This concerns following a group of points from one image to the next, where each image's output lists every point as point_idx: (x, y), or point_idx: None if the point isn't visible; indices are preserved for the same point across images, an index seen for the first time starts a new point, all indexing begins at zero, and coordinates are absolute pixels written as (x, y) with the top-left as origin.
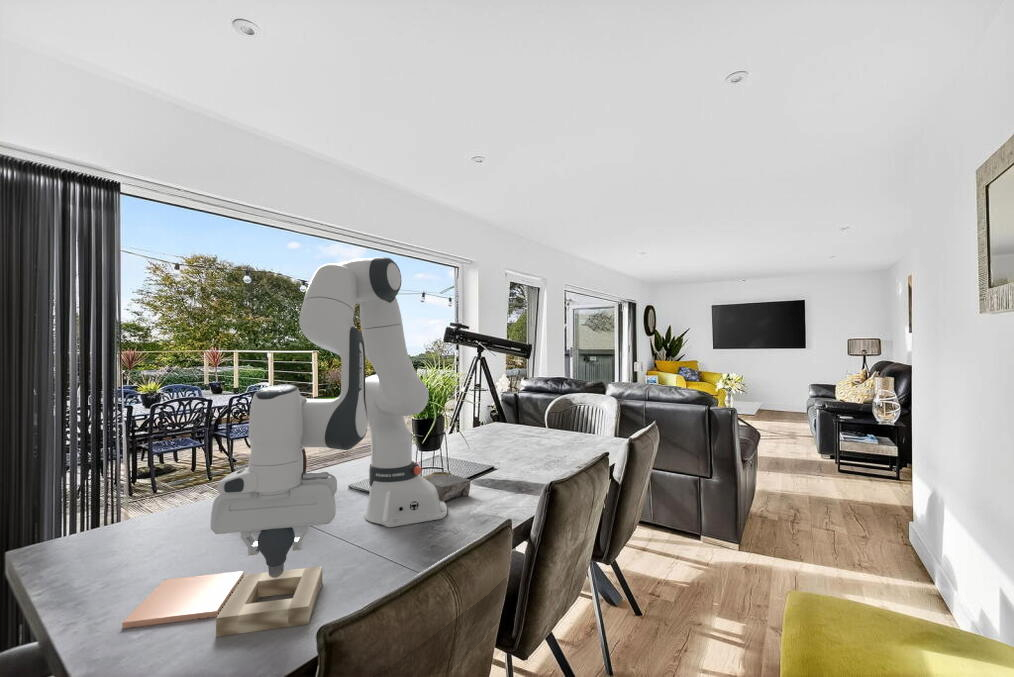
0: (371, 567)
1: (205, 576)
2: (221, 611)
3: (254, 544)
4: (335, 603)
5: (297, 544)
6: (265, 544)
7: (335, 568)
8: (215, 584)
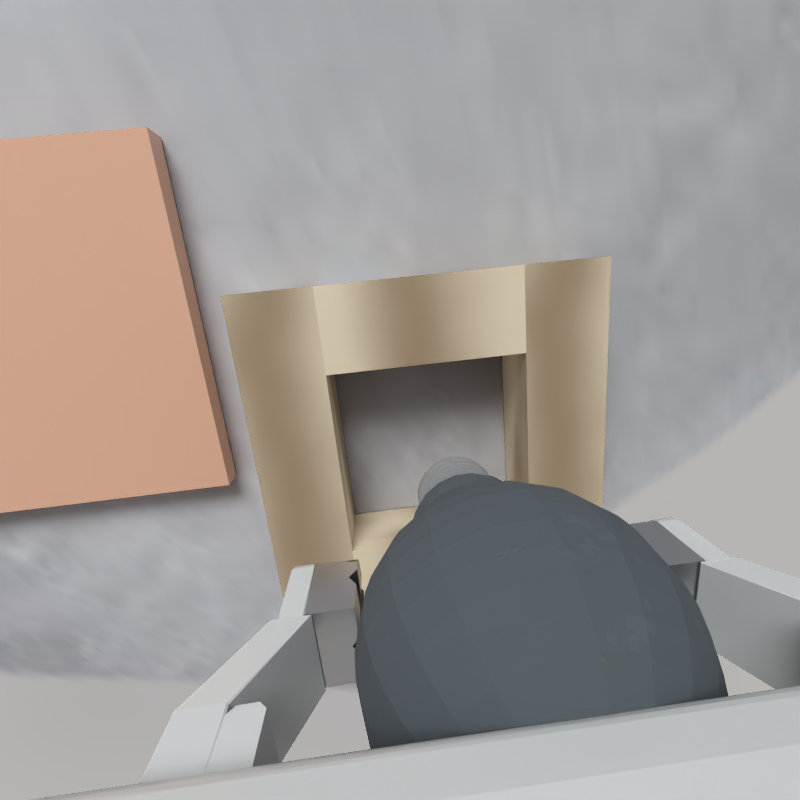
0: (786, 151)
1: None
2: (285, 589)
3: (332, 659)
4: (640, 438)
5: None
6: None
7: (617, 130)
8: (81, 267)
